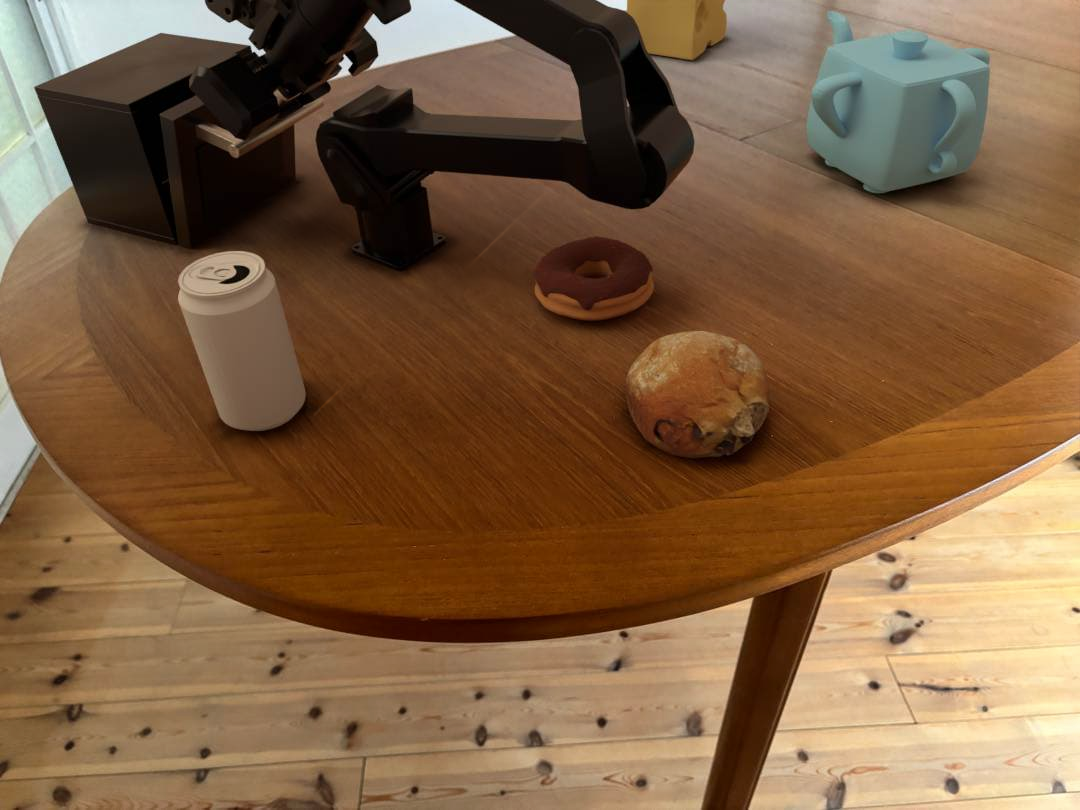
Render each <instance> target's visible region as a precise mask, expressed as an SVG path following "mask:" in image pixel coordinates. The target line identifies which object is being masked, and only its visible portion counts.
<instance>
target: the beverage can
mask: <svg viewBox="0 0 1080 810" xmlns="http://www.w3.org/2000/svg"><path fill="white" fill-rule="evenodd" d="M177 279H178V280H177V282H178V283H177V284H178V286H179V292H178V295H177V301H178V304H179V308H180V310H181V312H182V315H183V318H184V321H185V323H186V326H187V329H188V332H189V335H190V337H191V340H192V343H193V346H194V349H195V352H196V354H197V357H198V360H199V363H200V366H201V368H202V371H203V374H204V377H205V379H206V383H207V386H208V388H209V391H210V393H211V396H212V399H213V403H214V405H215V407H216V410H217V413H218V416H219V418H220V419H221V421H222V422H223V423H224V424H226V425H227V426H229V427H231V428H234V429H236V430H241V431H248V432H249V431H250V432H262V431H267V430H268V431H269V430H273V429H276V428H278V427H281V426H282V425H284V424H286V423H288V422H289V421H291V420H292V419H293V418H294V417H295V415H297V413H299V411H300V410H301V409H302V407H303V406H304V404H305V402H306V398H307V397H306V396H307V393H306V392H307V391H306V388H305V385H304V381H303V377H302V374H301V369H300V366H299V363H298V358H297V355H296V350H295V348H294V343H293V340H292V337H291V333H290V329H289V326H288V322H287V318H286V315H285V311H284V307H283V303H282V300H281V296H280V293H279V290H278V285H277V282H276V279H275V276H274V274H273V272H272V271H271V270H269V269H268V268H267V267H266V262H265V260H264V259H263V258H262V257H261V256H259V254H256V253H253V252H249V251H244V250H228V251H222V252H216V253H212V254H210V255H207V256H204V257H201V258H198V259H197V260H195V261H192V263H190V264H188V265H187V266H185V268H183V270H182V271H181V272H180V274H179V275H178V278H177Z"/></svg>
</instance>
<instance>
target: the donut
mask: <svg viewBox="0 0 1080 810" xmlns="http://www.w3.org/2000/svg"><path fill="white" fill-rule="evenodd" d="M535 266H536V267H535V268H534V270H533V274H532V275H533V278H534V281H535V286H534V294H535V296H536V298H537V300H538V301H539V302H540V303H541V305H542V306H543V308H545V309H546V310H548V311H550V312H551V313H554V314H556V315H558V316H563V317H566V318H570V319H573V320H578V321H590V322H591V321H604V320H609V319H613V318H617V317H620V316H624V315H626V314H628V313H631V312H633V311H635V310H637V309H639V308H641V307H642V306H643V305H644V304H645V303H646V302H647V301H649V299H650V297H651V295H652V294H653V293H654V290H655V289H654V287H655V283H654V280H653V278H652V277H653V276H652V272H653V271H654V269H653V268H654V267H653V265H652V263H651V262H650V260H649V259H648V257H647V255H646V254H645V253H643V251H640V250H638V249H637V248H636V247H635V246H632V245H631V244H629V243H626V242H624V241H620V240H619V239H614V238H610V237H605V236H604V237H603V236H596V235H595V236H590V237H586V238H581V239H577V240H573V241H569V242H566V243H564V244H562V245H559V246H557V247H554V248H553V249H551V250H550V251H548V252H546V253H545V254H544V256H543V257H542V258H541V259H540V260H539V261H538V263H537V265H535Z"/></svg>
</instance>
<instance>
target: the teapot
mask: <svg viewBox="0 0 1080 810" xmlns="http://www.w3.org/2000/svg"><path fill="white" fill-rule="evenodd" d="M826 16H827V18H828V20H829V22H830V25H831V29H832V33H833V42H832V43H833V44H830V45H829V46H828V47H827V48H826V52H825V54H824V56H823V59H822V60H823V61H822V63H821V65H820V69H819V72H818V75H817V77H816V80H815V84H814V86H813V88H812V89H811V93H810V103H809V108H808V113H807V119H806V140H807V144H808V146H809V147H810V148H811V149H812V150H813V151H814V152H815V153H817V154H818V155H819V156H820V157H822V158H823V159H824V163H825V164H826V165H827V166H829V167H833V168H836V169H838V170H840V171H841V172H842V173H845V174H846V175H848V176H850V177H852V178H854V179H855V180H857V181H858V182H861V183H862V184H863V185H862V187H863V189H864V190H865V191H867V192H869V193H873V194H885V193H888V192H891V191H897V190H901V189H906V188H910V187H914V186H918V185H922V184H927V183H931V182H934V181H938V180H942V179H946V178H950V177H953V176H957V175H959V174H963V173H964V174H965V173H966V172H968V171H969V170H970V168H971V166H972V164H973V163H974V161H975V159H976V157H977V155H978V153H979V150H980V148H981V143H982V139H983V134H984V129H985V125H986V124H985V123H986V119H987V110H988V102H989V91H990V77H991V76H990V75H991V67H990V66H989V64H990V60H991V56H990V53H989V52H988V51H987V50H985V49H984V48H983V49H982V48H980V47H966V48H960V49H959V48H956V47H954V46H951V45H949V44H946V43H944V42H941V41H939V40H936V39H934V38H931V37H929V35H928V34H926V33H924V32H922V31H918V30H912V29H906V30H898V31H896V32H891V33H885V34H879V35H875V36H870V37H863V38H859V39H854V34H853V30H852V27H851V25H850V23H849V20H848V19H847V18H846V17H845V16H844V15H843V14H841V13H839V12H837V11H831V10H829V11H827V12H826Z"/></svg>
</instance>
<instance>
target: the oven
mask: <svg viewBox="0 0 1080 810" xmlns="http://www.w3.org/2000/svg"><path fill="white" fill-rule="evenodd" d="M225 52H228V53H235V54H239V55H240V57H241V58H242V57H244V56H246V55H248V54H250V53H253V50H252V46H251V45H249V44H244V43H236V42H229V41H228V42H227V41H222V40H214V39H208V38H207V39H206V38H200V37H193V36H187V35H180V34H173V33H165V32H159V33H157V34H154V35H153V36H150V37H148V38H145V39H143V40H141V41H138V42H135V43H133V44H131V45H129V46H126V47H125V48H122V49H119V50H117V51H115V52H113V53H110V54H108V55H105V56H103V57H101V58H99V59H96V60H94V61H91V62H89V63H86V64H84V65H81V66H79V67H77V68H74V69H73V70H71V71H68V72H65V73H63V74H61V75H58V76H56V77H54V78H51V79H48V80H47V81H44V82H42V83H40V84H37V85H35V86H33V88H34V91H35V93H36V96H37V99H38V101H39V104H40V106H41V109H42V111H43V114H44V116H45V119H46V121H47V124H48V126H49V129H50V131H51V133H52V136H53V139H54V142H55V144H56V146H57V148H58V151H59V154H60V156H61V159H62V161H63V164H64V166H65V169H66V171H67V174H68V176H69V179H70V181H71V184H72V186H73V189H74V192H75V193H76V196H77V198H78V201H79V203H80V206H81V209H82V211H83V214H84V216H85V219H86V222H87V224H90V225H94V226H98V227H102V228H106V229H110V230H114V231H117V232H121V233H126V234H129V235H133V236H136V237H141V238H144V239H148V240H152V241H153V240H154V241H156V242H159V243H164V244H167V245H172V246H178V245H179V244H178V240H177V233H176V226H175V219H174V212H173V205H172V198H171V191H170V184H169V177H168V170H167V163H166V156H165V149H164V142H163V135H162V128H161V121H160V113H162V112H164V111H166V110H168V109H170V108H172V107H174V106H176V105H178V104H180V103H182V102H184V101H186V100H188V99H190V98H192V97H194V96H196V95H195V93H194V92H193V91H192V90H191V89H190V88H189V80H190V78H191V76H192V74H193V72H194V71H195V69H196V67H197V66H198V65H200V64H202V63H204V62H206V61H208V60H210V59H213V58H215V57H217V56H219V55H221V54H223V53H225Z"/></svg>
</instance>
